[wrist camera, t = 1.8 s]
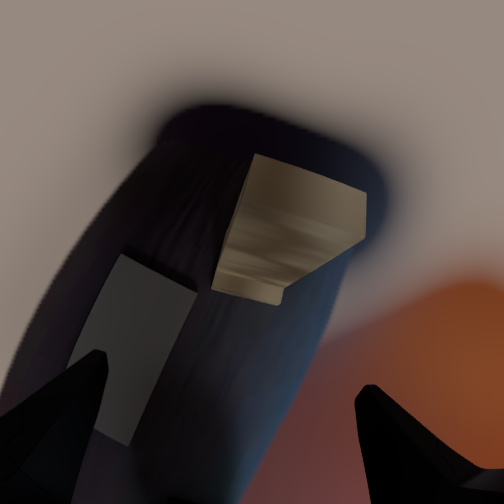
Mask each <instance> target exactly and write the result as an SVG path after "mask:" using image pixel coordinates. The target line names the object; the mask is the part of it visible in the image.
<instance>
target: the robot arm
mask: <svg viewBox="0 0 504 504" xmlns="http://www.w3.org/2000/svg"><path fill="white" fill-rule="evenodd" d="M108 373H109V366H108V359H107V353H106V352H105V351H102V350H98V349H93V350H92V351H90V352H89V353H88V354H86V355H85V356H83V357H82V358H81V359H79V360H78V361H77V362H75V363H74V364H72V365H71V366H70V367H68V368H67V369H66V370H64V371H63V372H61V373H60V374H59V375H57V376H56V377H55V378H53V379H52V380H50V381H49V382H48V383H46V384H45V385H44V386H42V387H41V388H40V389H38V390H37V391H35V392H34V393H33V394H31V395H30V396H29V397H27V398H26V399H25V400H23V401H22V403H19V404H18V405H16V406H15V407H14V408H12V409H11V410H10V411H8V412H7V413H5V414H4V415H2V416H1V417H0V504H71V500H72V496H73V492H74V489H75V485H76V481H77V478H78V474H79V471H80V468H81V464H82V461H83V458H84V455H85V452H86V449H87V446H88V443H89V440H90V437H91V434H92V431H93V428H94V425H95V422H96V420H97V417H98V414H99V410H100V406H101V402H102V397H103V393H104V389H105V385H106V381H107V378H108ZM355 412H356V421H357V430H358V438H359V443H360V447H361V452H362V457H363V462H364V467H365V473H366V478H367V483H368V489H369V495H370V501H371V504H504V469H483V468H480V467H478V466H476V465H474V464H473V463H471V462H470V461H468V460H467V459H465V458H464V457H462V456H461V455H460V454H458V453H457V452H455V451H454V450H452V449H451V448H450V447H448V446H447V445H446V444H445V443H444V442H442V441H441V440H440V439H439V438H437V437H436V436H435V435H434V434H433V433H431V432H430V431H429V430H428V429H427V428H426V427H424V426H423V425H422V424H421V423H420V422H419V421H417V420H416V419H415V418H414V417H413V416H411V415H410V414H409V413H408V412H407V411H406V410H405V409H403V408H402V407H401V406H400V405H399V404H398V403H396V402H395V401H394V400H393V399H392V398H391V397H389V396H388V395H387V394H386V393H385V392H384V391H382V390H381V389H380V388H379V387H378V386H377V385H374V384H372V385H371V384H370V385H366V386H364V387H363V389H362V390H361V391H360V393H359V394H358V395H357V397H356V398H355ZM171 501H174V502H176V503H172V502H171ZM166 504H193V503H190V502H187V501H184V500H181V499H178V498H175V497H170V498H169V499H168V500H167V502H166Z"/></svg>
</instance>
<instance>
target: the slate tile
mask: <svg viewBox="0 0 504 504" xmlns="http://www.w3.org/2000/svg"><path fill="white" fill-rule="evenodd" d="M197 296H198V293H196V292H194V291H192V290H190V289H188V288H186V287H184V286H182V285H180V284H178V283H176V282H174V281H172V280H170V279H168V278H166V277H164V276H162V275H160V274H158V273H156V272H155V271H153V270H151V269H149V268H147V267H145V266H143V265H141V264H139V263H138V262H136V261H134V260H132V259H130V258H128V257H127V256H125V255H123V254H120V256H119V258H118V260H117V261H116V263H115V265H114V267H113V269H112V271H111V272H110V274H109V276H108V278H107V280H106V282H105V284H104V286H103V288H102V290H101V292H100V294H99V296H98V298H97V300H96V302H95V304H94V306H93V308H92V310H91V312H90V314H89V316H88V318H87V321H86V323H85V325H84V327H83V329H82V332H81V334H80V336H79V338H78V341H77V343H76V345H75V348H74V350H73V353H72V355H71V357H70V360H69V362H68V365H67V368H68V367H70V366H71V365H72V364H74V363H75V362H77V361H78V360H79V359H81V358H82V357H83V356H85V355H86V354H88V353H89V352H90V351H92V350H93V349H98V350H102V351H105V352H106V353H107V359H108V366H109V373H108V378H107V381H106V385H105V389H104V393H103V397H102V402H101V406H100V410H99V414H98V417H97V420H96V422H95V425H94V428H95V429H96V430H98V431H100V432H101V433H103V434H105V435H107V436H108V437H110V438H112V439H114V440H116V441H118V442H119V443H121V444H123V445H125V446H127V447H128V446H129V445H130V443H131V441H132V439H133V436H134V434H135V432H136V429H137V427H138V425H139V422H140V420H141V418H142V415H143V413H144V411H145V409H146V406H147V404H148V402H149V399H150V397H151V395H152V393H153V391H154V388H155V386H156V384H157V382H158V379H159V377H160V375H161V373H162V371H163V368H164V366H165V364H166V362H167V360H168V358H169V355H170V353H171V351H172V349H173V347H174V345H175V342H176V340H177V338H178V336H179V334H180V332H181V330H182V328H183V325H184V323H185V321H186V319H187V317H188V315H189V313H190V311H191V309H192V307H193V305H194V302H195V300H196V298H197ZM67 368H66V369H67Z"/></svg>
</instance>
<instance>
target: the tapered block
mask: <svg viewBox="0 0 504 504" xmlns="http://www.w3.org/2000/svg"><path fill="white" fill-rule="evenodd" d="M365 229H366V193H365V192H362V191H360V190H357V189H355V188H352V187H350V186H347V185H345V184H342V183H340V182H337V181H335V180H332V179H329V178H327V177H324V176H321V175H318V174H316V173H313V172H310V171H307V170H304V169H302V168H298V167H296V166H293V165H290V164H286V163H284V162H280V161H277V160H275V159H271V158H268V157H265V156H262V155H258V154H255V155H254V158H253V160H252V163H251V166H250V169H249V171H248V174H247V177H246V180H245V183H244V185H243V188H242V191H241V194H240V197H239V199H238V202H237V205H236V208H235V211H234V214H233V217H232V220H231V222H230V225H229V228H227V231H226V235H225V238H224V242H223V246H222V249H221V253H220V257H219V261H218V264H217V268H216V272H215V276H214V280H213V283H212V287H211V289H213V290H217V291H221V292H224V293H228V294H232V295H236V296H240V297H244V298H248V299H251V300H255V301H260V302H264V303H268V304H272V305H276V306H277V305H279V304H281V300H282V295H283V289H284V288H285V287H287V286H288V285H290V284H292V283H293V282H295V281H297V280H298V279H300V278H302V277H303V276H305V275H307V274H308V273H310V272H312V271H313V270H315V269H317V268H318V267H320V266H321V265H323V264H325V263H326V262H328V261H330V260H331V259H333V258H334V257H336V256H338V255H339V254H341V253H342V252H344V251H345V250H347V249H349V248H350V247H352V246H353V245H355V244H356V243H358V242H360V241H361V240H363V239H364V238H365Z"/></svg>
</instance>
